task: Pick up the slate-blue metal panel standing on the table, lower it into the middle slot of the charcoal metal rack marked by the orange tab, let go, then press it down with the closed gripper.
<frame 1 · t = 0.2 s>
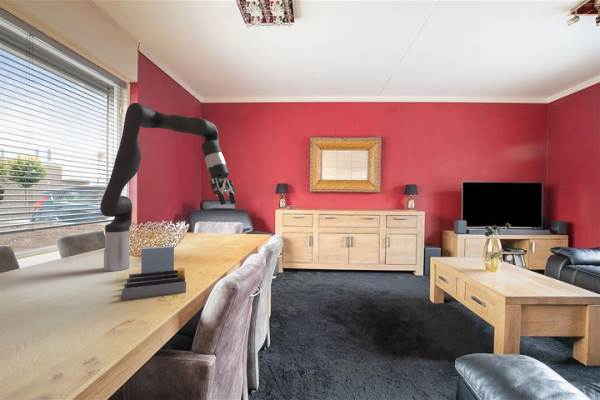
hand: (229, 203, 110), 31 cm above the table, tool tilted 20°, fingers open, 8 cm apart
rack: (156, 287, 100), on the table
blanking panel: (158, 275, 115), on the table
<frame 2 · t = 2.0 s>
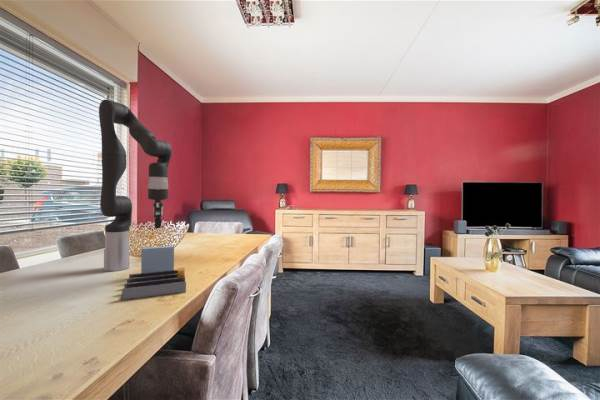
hand: (158, 226, 114), 21 cm above the table, tool pointing down, fingers open, 8 cm apart
nothing on the table moved.
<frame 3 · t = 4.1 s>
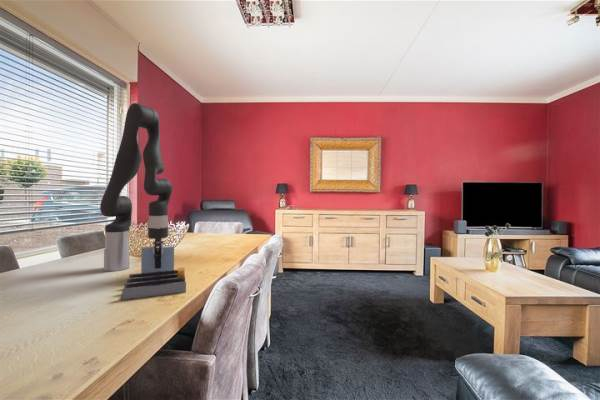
hand: (158, 266, 115), 4 cm above the table, tool pointing down, fingers closed on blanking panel, 3 cm apart
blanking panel: (158, 275, 115), on the table, touching gripper
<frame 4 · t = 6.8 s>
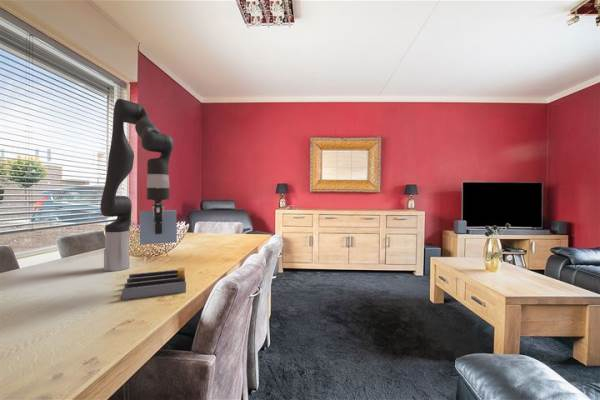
hand: (158, 233, 102), 20 cm above the table, tool pointing down, fingers closed on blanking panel, 3 cm apart
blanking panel: (158, 242, 102), point 16 cm above the table, touching gripper
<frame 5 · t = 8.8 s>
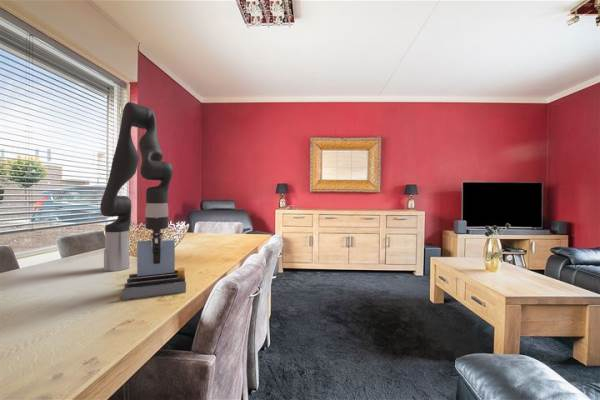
hand: (156, 262, 100), 9 cm above the table, tool pointing down, fingers closed on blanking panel, 3 cm apart
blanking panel: (156, 273, 100), point 5 cm above the table, touching gripper
when the fingers open (6 cm above the table, at t = 9.8 s): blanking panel stays where it is, resting on rack.
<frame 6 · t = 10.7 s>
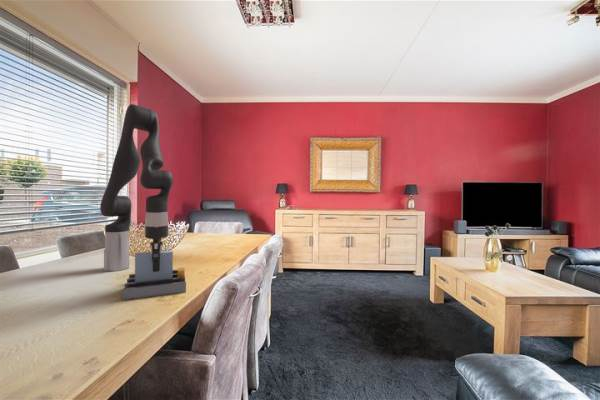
hand: (156, 268, 100), 7 cm above the table, tool pointing down, fingers open, 8 cm apart
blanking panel: (154, 285, 100), point 1 cm above the table, touching rack
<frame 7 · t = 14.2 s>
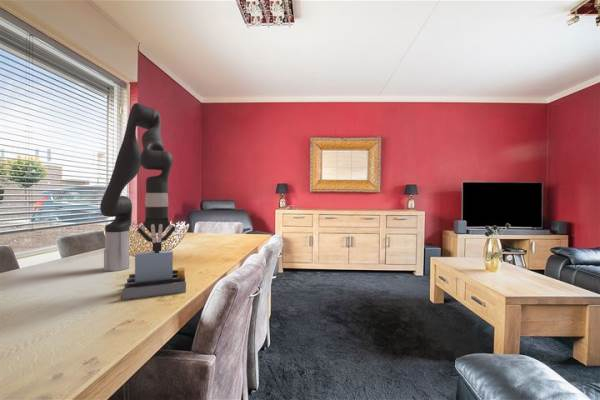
hand: (157, 252, 100), 13 cm above the table, tool pointing down, fingers closed
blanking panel: (154, 285, 100), point 1 cm above the table, touching gripper, rack
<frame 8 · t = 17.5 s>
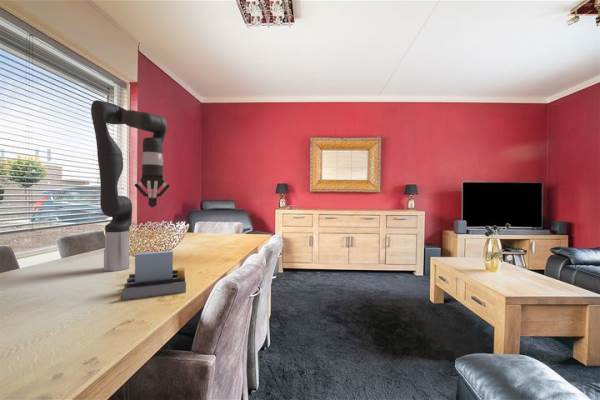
hand: (152, 207, 110), 29 cm above the table, tool pointing down, fingers closed
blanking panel: (154, 285, 100), point 1 cm above the table, touching rack
at the end: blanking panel 0.7 cm off-centre on the rack, point 1.0 cm above the rack's base; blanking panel tilted 0°; the gripper is holding nothing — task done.
